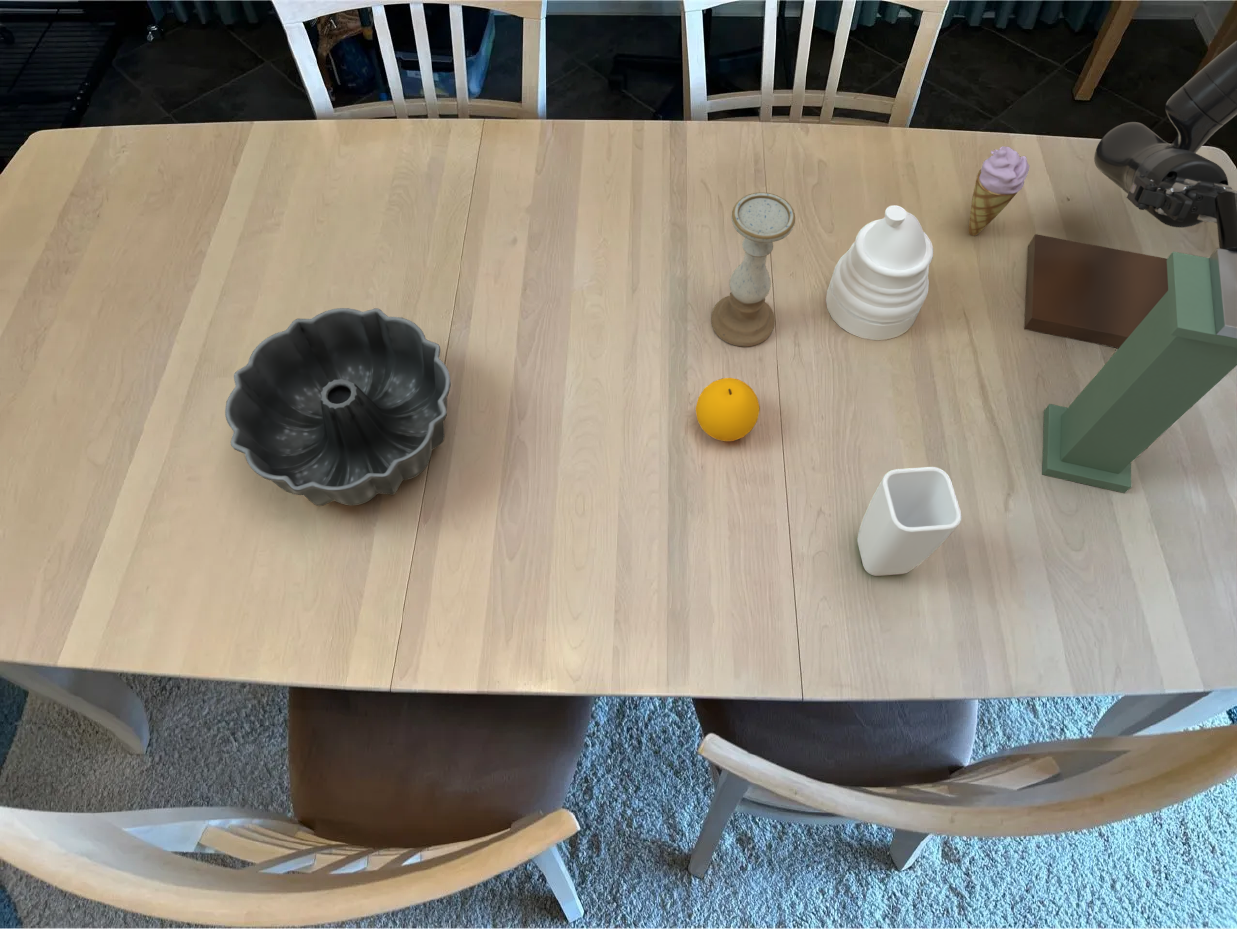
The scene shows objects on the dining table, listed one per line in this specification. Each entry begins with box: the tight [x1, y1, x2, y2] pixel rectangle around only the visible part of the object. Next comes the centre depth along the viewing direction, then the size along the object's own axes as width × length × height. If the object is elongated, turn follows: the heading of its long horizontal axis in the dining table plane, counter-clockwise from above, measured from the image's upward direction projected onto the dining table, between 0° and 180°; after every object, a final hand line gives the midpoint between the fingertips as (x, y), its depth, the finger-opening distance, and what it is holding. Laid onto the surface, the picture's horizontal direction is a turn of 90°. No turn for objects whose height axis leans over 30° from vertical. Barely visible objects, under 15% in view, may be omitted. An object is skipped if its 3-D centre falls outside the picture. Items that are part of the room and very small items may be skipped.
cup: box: [856, 466, 962, 577], centre depth 94 cm, size 7×7×15 cm
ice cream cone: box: [967, 145, 1030, 237], centre depth 119 cm, size 7×6×15 cm
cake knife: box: [1208, 192, 1237, 339], centre depth 82 cm, size 3×18×2 cm, turn 165°
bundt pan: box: [224, 307, 452, 507], centre depth 104 cm, size 26×26×10 cm
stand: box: [1041, 251, 1237, 494], centre depth 94 cm, size 10×10×30 cm
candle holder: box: [710, 191, 796, 347], centre depth 108 cm, size 9×9×20 cm
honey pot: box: [825, 204, 934, 341], centre depth 111 cm, size 13×13×18 cm
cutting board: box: [1023, 233, 1168, 349], centre depth 118 cm, size 20×16×2 cm
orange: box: [695, 377, 761, 442], centre depth 106 cm, size 8×8×8 cm
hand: (1229, 219), depth 85 cm, fingers open, 8 cm apart
